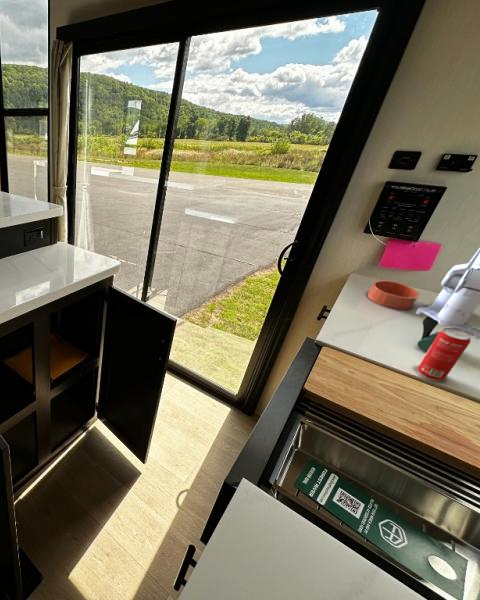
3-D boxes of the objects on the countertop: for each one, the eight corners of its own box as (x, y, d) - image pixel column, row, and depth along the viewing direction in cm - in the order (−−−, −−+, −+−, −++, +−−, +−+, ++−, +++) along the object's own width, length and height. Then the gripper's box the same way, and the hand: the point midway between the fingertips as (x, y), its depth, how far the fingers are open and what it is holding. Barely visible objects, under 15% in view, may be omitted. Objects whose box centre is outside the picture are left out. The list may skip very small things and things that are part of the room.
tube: (430, 338, 104) (437, 329, 102) (445, 346, 101) (453, 336, 98) (414, 346, 101) (421, 337, 99) (430, 354, 98) (437, 344, 96)
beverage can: (448, 383, 88) (484, 342, 80) (421, 380, 89) (453, 339, 81) (433, 368, 93) (465, 327, 85) (407, 365, 94) (437, 325, 86)
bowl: (380, 288, 130) (386, 277, 128) (419, 304, 120) (427, 292, 117) (360, 295, 126) (365, 285, 123) (399, 313, 116) (406, 301, 113)
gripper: (421, 299, 97) (398, 333, 104) (487, 324, 86) (456, 361, 93) (433, 293, 99) (410, 327, 107) (499, 317, 88) (468, 354, 95)
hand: (432, 342), depth 100 cm, fingers closed on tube, 4 cm apart
